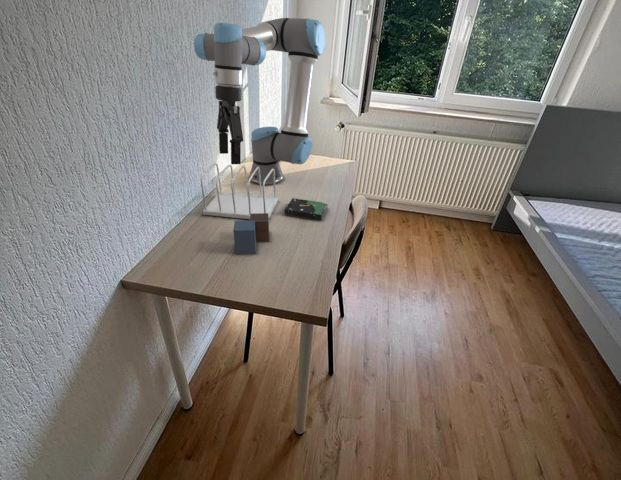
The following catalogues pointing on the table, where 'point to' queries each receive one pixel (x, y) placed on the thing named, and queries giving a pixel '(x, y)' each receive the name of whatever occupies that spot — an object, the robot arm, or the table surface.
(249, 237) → the slate-blue block
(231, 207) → the file sorter
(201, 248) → the table surface
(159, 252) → the table surface
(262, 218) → the walnut block
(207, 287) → the table surface
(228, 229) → the table surface
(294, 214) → the disk drive
